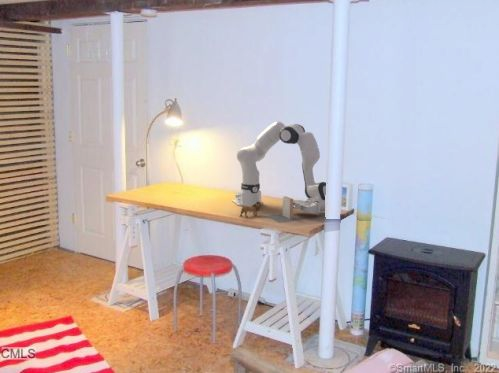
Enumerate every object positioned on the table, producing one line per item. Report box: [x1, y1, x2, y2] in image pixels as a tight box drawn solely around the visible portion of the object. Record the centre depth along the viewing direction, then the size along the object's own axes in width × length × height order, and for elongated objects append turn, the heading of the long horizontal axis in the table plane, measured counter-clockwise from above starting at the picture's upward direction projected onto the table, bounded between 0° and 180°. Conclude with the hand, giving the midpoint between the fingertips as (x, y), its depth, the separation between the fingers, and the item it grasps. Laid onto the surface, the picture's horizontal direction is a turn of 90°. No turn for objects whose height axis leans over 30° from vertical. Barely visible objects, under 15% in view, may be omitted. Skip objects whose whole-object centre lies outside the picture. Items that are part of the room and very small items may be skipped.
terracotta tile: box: [282, 196, 294, 219], centre depth 326 cm, size 8×2×12 cm, turn 28°
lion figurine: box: [239, 201, 263, 218], centre depth 330 cm, size 15×5×9 cm, turn 115°
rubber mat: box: [264, 213, 303, 224], centre depth 326 cm, size 18×16×1 cm
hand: (292, 207), depth 328 cm, fingers closed
